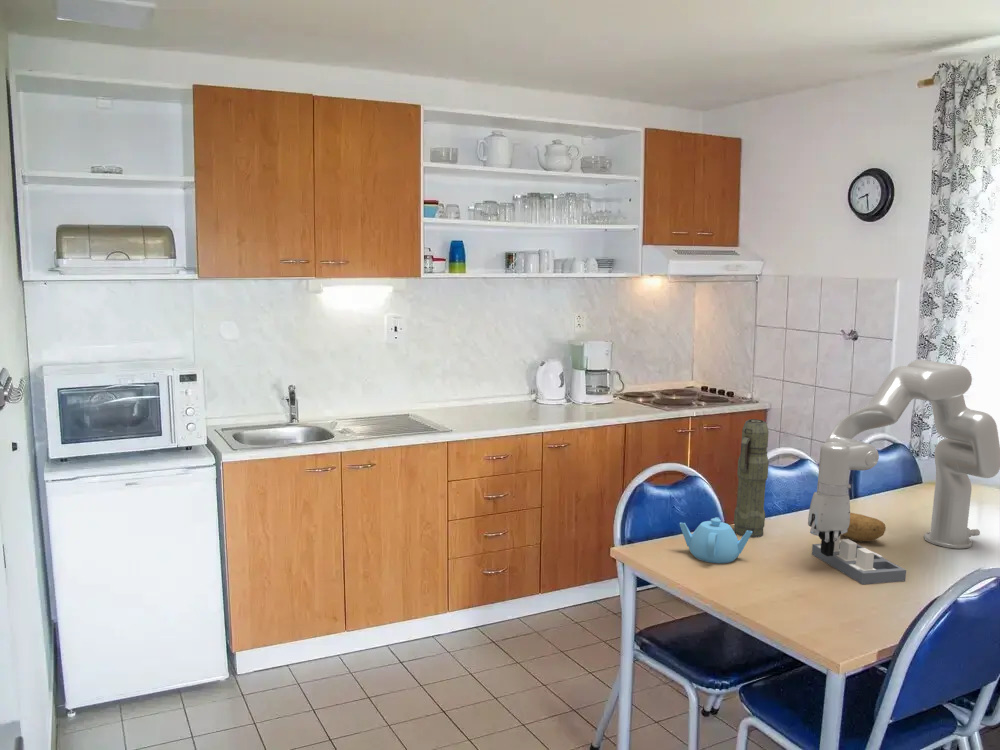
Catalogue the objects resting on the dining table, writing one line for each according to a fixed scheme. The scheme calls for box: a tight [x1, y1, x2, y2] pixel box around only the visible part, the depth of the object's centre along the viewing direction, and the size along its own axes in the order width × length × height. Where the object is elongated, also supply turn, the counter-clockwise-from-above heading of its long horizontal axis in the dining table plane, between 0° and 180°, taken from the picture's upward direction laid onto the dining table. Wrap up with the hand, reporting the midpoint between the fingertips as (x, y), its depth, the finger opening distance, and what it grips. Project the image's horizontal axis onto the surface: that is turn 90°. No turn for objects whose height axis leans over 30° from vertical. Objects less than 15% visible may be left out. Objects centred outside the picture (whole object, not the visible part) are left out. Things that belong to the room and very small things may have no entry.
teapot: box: [679, 516, 752, 564], centre depth 229 cm, size 15×15×11 cm
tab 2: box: [836, 538, 858, 561], centre depth 222 cm, size 4×4×6 cm
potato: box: [842, 511, 886, 543], centre depth 245 cm, size 10×14×8 cm
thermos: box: [733, 418, 770, 538], centre depth 247 cm, size 9×12×35 cm
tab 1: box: [833, 535, 841, 552], centre depth 229 cm, size 4×4×6 cm
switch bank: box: [811, 543, 907, 585], centre depth 223 cm, size 13×22×3 cm, turn 13°
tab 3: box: [853, 547, 876, 571], centre depth 215 cm, size 4×4×6 cm
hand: (826, 554), depth 221 cm, fingers closed
